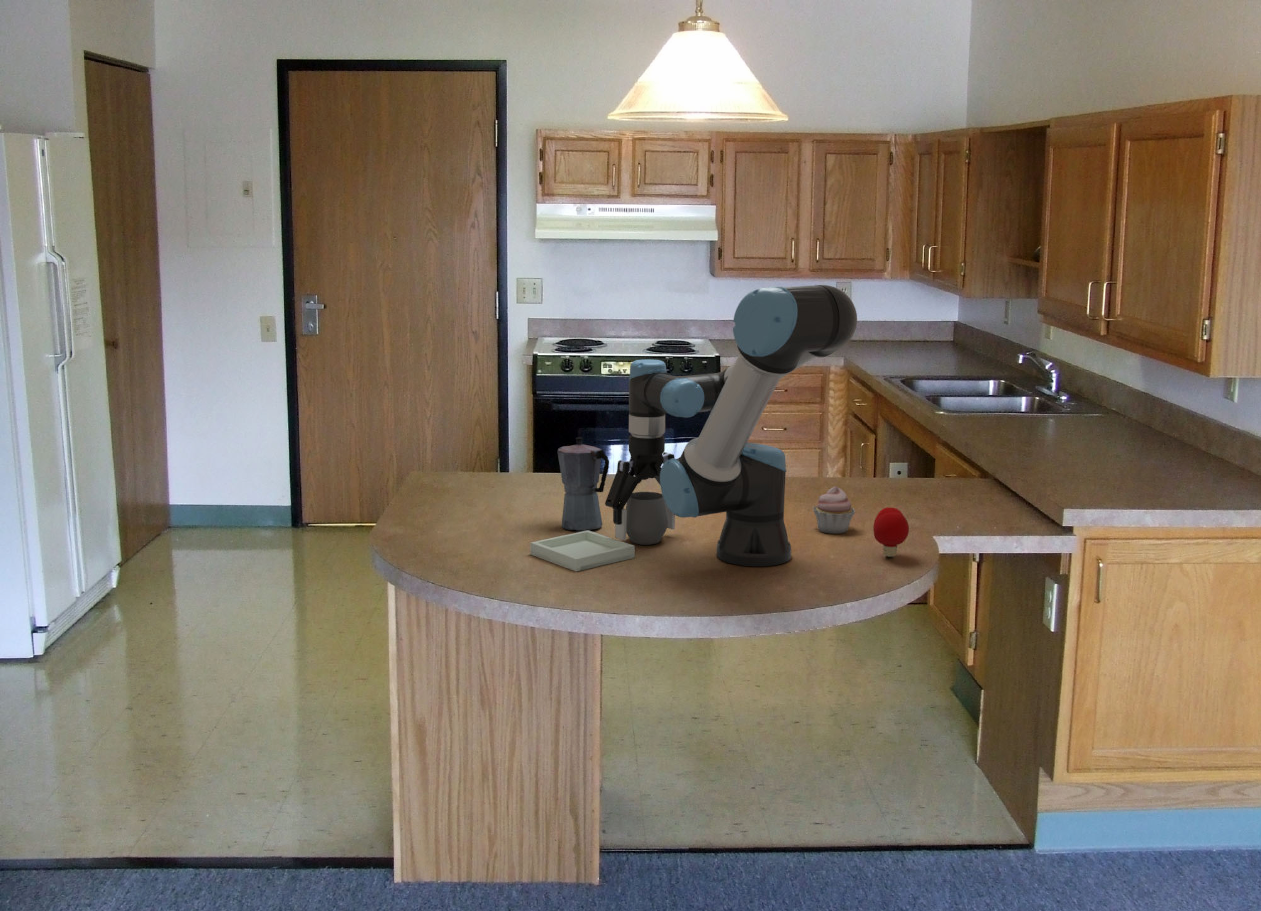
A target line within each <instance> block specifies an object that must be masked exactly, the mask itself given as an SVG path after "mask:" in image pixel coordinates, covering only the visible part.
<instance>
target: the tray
mask: <svg viewBox="0 0 1261 911" xmlns="http://www.w3.org/2000/svg"><path fill="white" fill-rule="evenodd" d="M529 544H530V545H529V546H530V547H529V548H530V553H529V554H530V555H531V556H534V557H536V558H539V559H542V560H544V561H548V562H550V563H553V564H555V565H558V566H560V567H563V568H566V569H568V570H571V571H574V572H580V571H584V570H588V569H589V570H590V569H592V568H593V569H594V568H597V567H601V566H605V565H609V564H613V563H617V562H621V561H627V560H631V559H635V553H636V552H635V549H636V548H635V547H636V546H635V545H633V544H630V543H627V542H626V541H625V542H624V541H623V540H622V541H621V540H620V539H617V538H613V537H609V536H607V535H604V534H600V533H597V532H594V531H591V530H583V531H577V532H575V533H574V532H573V533H569V534H565V535H564V534H563V535H560V536H559V535H558V536H555V537H550V538H545V539H541V540H536V541H532V542H530V543H529Z"/></svg>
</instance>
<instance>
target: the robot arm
mask: <svg viewBox="0 0 1261 911" xmlns="http://www.w3.org/2000/svg"><path fill="white" fill-rule="evenodd" d="M733 323H734V324H735V325H734V326H733V327H732V333H733V337H734V341H735V343H736V344H735V345H736V350H737V352H738V356H737V358H736V360H735V361H734V363H732V364H731V365H730V366H728V367H726V368H725V369H723V370H722V371H720V372H716V373H715V372H714V373H703V374H702V373H701V374H692V375H690V374H689V375H682V376H681V375H680V376H677V375H671V374H668V371H667V365H666V362H664V361H663V360H661V359H636V360H634V361H632V362H631V363H630V364H629V366H630V367H629V378H628V411H629V412H628V413H629V414H628V432H629V434H630V435H629V436H628V453H629V455H630V458H629V461H627V460H623V459H619V460H618V461H617V467H616V473H615V476H614V479H613V480H612V483H611V486H610V489H609V492H608V493H607V497H606V499H605V502H604V505H605V507H609V508H612V513H613V514H612V522H613V524H614V535H615V536H614V539H617V540H620V541H621V540H622V541H627V533H626V524H627V509H626V508H625V507H626V504H627V501H628V500H629V498H630V496H631V494H632V493H634V491H635V489H636V488H637V486H638V484H640V483H641V482H642V481H646V480H648V479H655V480H656V482H657V483H658V484H659V486H660V490H661V494H662V495H663V498H664V501H665V506H666V512H667V519H668V526H667V529H670V530H676V529H675V528H676V516H677V517H678V518H684V519H685V518H697V517H702V516H709V515H715V514H722V513H725V521H724V523H723V526H722V529H721V533H720V536H719V539H718V540H717V543H716V557H717V558H718V559H719V560H721V561H723V562H725V563H728V564H732V565H737V566H743V567H744V566H745V567H773V566H777V565H779V566H780V565H783V564H786V563H787V562H789V561H790V560H791V558H792V545H791V543H790V542H789V538H788V532H787V528H786V525H785V521H784V516H785V495H786V494H785V493H786V492H785V491H786V490H785V489H786V474H787V473H786V472H787V469H786V468H787V467H786V455H785V453H784V451H783V450H782V449H780V448H778V447H774V446H771V445H767V444H762V443H755V442H748V441H749V439H750V437H751V435H752V433H753V431H754V429H755V427H756V426H757V424H758V423H759V420H760V418H761V416H762V415H763V413H764V411H765V409H766V407H767V404H768V403H769V401H770V399H771V397H772V396H773V393H774V391H775V390H776V388H777V386H778V385H779V384H778V383H779V381H780V380H781V379H782V378H784V377H785V376H787V375H789V374H791V373H792V372H794V371H795V370H797V369H799V368H800V367H802V366H803V365H805V364H806V363H808V362H810V361H811V360H813V359H815V358H826V357H829V356H830V355H832V354H833V353H835V352H837V351H838V350H840V349H841V348H843V347H844V346H846V345H847V343H849V341H850V340H852V337H853V336H854V334H855V332H856V329H857V325H858V313H857V308H856V306H855V305H854V302H853V301H852V299H851V297H849V296H848V295H847V293H846V292H844V291H843V290H841V289H840V288H837V287H835V286H832V285H827V284H817V285H816V284H815V285H800V286H799V285H798V286H786V287H785V286H778V285H773V286H771V285H770V286H768V287H764V288H763V287H762V288H757V289H754V290H751V291H750V292H748V293H746V295H744V297H743V298H742V299H741V300H740V302H739V303H738V305H737V307H736V309H735V312H734V316H733ZM709 411H710V413H709V415H708V418H707V419H706V421H705V424H704V425H703V428H702V430H701V432H700V434H699V436H698V437H695V438H692V439H691V440H689V441H687V443H686V445H685V447H684V449H683V451H682V453H681V455H680V457H678V458H675V454H673V453H669V452H665V449H666V447H665V446H666V445H665V444H666V443H665V442H666V440H665V439H666V437H665V436H664V434H666V414H669V415H670V416H674V417H676V418H685V419H686V418H691V417H694V416H695V415H697V414H698V413H702V412H709Z"/></svg>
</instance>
